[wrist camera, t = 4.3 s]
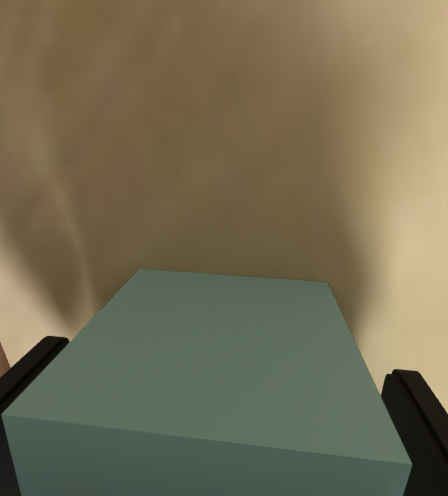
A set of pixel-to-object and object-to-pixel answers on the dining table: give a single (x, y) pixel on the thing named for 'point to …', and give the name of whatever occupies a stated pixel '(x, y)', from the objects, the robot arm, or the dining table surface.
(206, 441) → the teal cube
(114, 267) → the dining table surface
